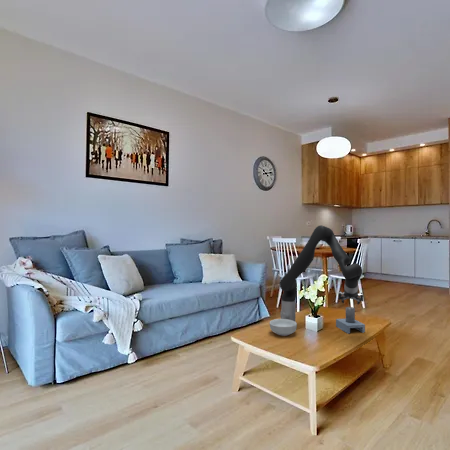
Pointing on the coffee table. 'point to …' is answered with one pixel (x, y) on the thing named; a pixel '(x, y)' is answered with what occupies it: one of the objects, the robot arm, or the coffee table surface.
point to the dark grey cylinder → (350, 315)
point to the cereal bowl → (283, 326)
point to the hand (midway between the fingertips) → (350, 302)
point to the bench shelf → (349, 325)
